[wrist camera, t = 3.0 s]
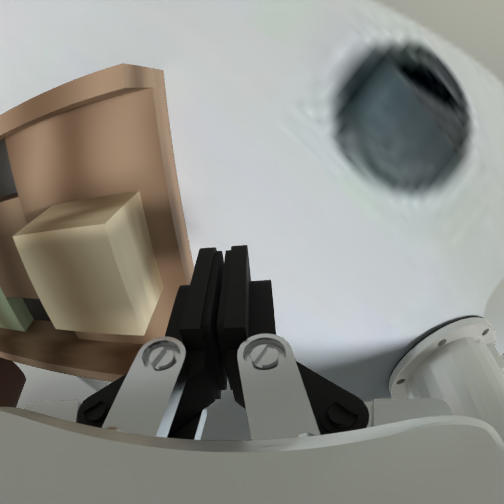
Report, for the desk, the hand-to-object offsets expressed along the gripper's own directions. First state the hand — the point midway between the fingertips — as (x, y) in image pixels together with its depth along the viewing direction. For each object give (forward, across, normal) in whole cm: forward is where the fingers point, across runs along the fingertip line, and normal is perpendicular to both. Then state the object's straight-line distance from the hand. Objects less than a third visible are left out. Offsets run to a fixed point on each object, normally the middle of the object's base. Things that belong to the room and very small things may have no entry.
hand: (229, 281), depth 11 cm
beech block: (+5, +8, +1) cm, 9 cm away
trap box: (+7, +15, +1) cm, 16 cm away
